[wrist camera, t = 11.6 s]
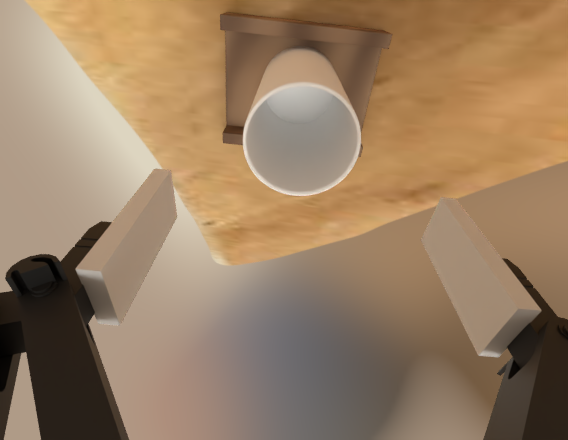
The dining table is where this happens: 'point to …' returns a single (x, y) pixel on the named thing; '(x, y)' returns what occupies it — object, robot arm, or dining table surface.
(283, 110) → the cup
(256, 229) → the dining table surface
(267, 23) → the brown wooden tray
